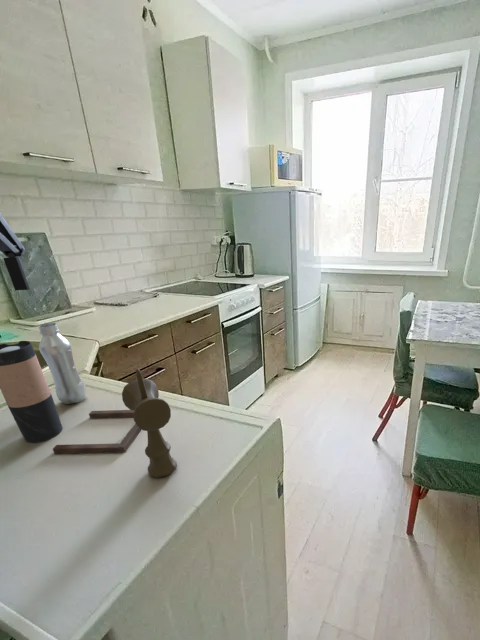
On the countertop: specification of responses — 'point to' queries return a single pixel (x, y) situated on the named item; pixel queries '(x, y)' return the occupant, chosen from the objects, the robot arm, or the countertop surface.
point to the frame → (103, 447)
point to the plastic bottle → (61, 364)
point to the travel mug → (28, 393)
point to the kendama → (150, 422)
